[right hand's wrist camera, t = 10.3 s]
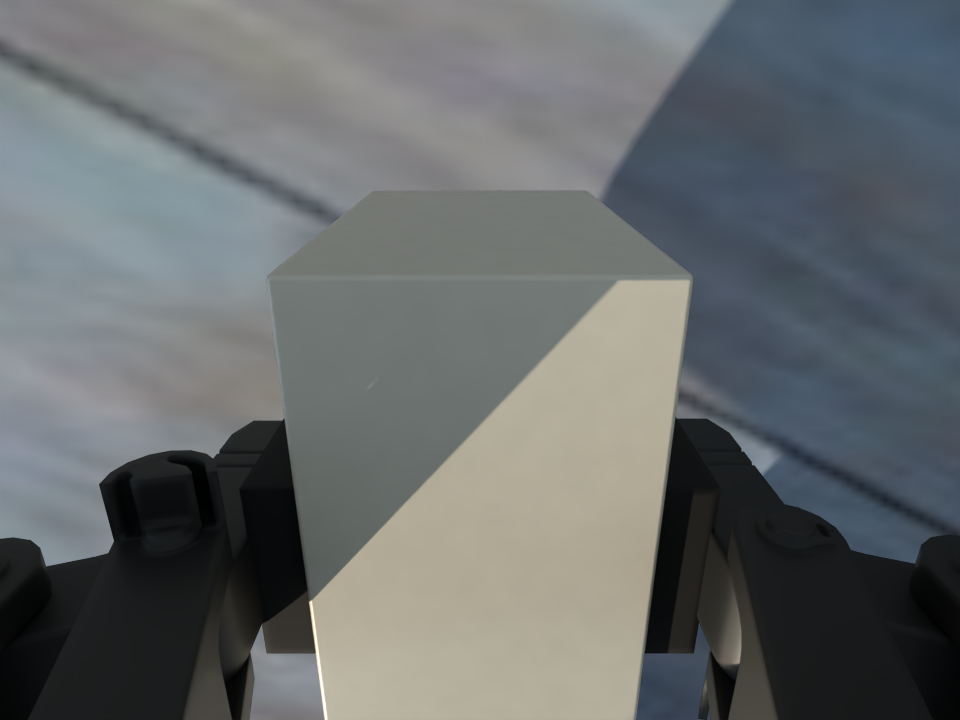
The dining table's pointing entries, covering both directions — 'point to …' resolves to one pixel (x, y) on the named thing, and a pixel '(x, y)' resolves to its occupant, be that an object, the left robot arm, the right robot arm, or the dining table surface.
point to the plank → (480, 450)
